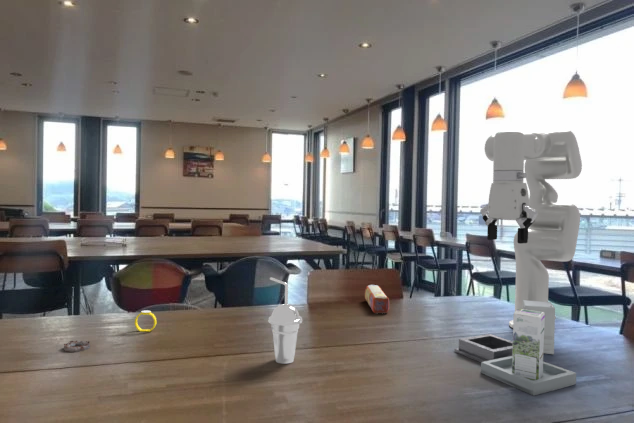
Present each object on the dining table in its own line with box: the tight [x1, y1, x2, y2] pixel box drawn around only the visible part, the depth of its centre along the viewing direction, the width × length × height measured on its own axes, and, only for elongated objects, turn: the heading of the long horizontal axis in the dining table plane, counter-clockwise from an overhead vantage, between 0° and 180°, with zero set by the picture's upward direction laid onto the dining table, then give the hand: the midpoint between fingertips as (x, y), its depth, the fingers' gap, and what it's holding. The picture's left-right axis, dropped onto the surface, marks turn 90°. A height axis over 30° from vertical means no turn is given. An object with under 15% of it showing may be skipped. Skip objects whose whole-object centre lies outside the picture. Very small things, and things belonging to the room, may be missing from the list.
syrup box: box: [512, 309, 545, 380], centre depth 104 cm, size 6×6×14 cm
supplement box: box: [523, 300, 556, 355], centre depth 126 cm, size 7×7×13 cm
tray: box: [480, 356, 577, 397], centre depth 105 cm, size 14×14×2 cm
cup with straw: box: [267, 276, 304, 365], centre depth 113 cm, size 8×9×20 cm
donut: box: [63, 340, 91, 353], centre depth 120 cm, size 8×8×2 cm
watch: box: [134, 309, 158, 333], centre depth 136 cm, size 6×3×6 cm, turn 93°
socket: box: [453, 333, 513, 363], centre depth 120 cm, size 13×13×4 cm
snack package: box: [364, 284, 390, 314], centre depth 173 cm, size 21×7×7 cm, turn 1°
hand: (506, 241), depth 125 cm, fingers open, 9 cm apart
